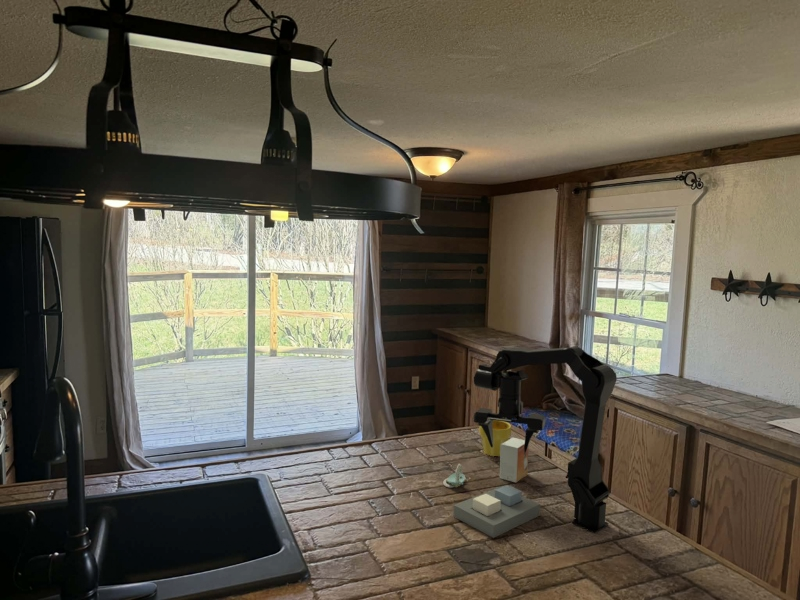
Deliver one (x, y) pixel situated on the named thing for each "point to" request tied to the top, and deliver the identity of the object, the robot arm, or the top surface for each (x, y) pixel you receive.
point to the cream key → (486, 504)
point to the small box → (513, 460)
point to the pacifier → (455, 478)
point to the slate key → (508, 495)
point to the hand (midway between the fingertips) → (508, 449)
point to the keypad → (497, 515)
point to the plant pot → (496, 437)
